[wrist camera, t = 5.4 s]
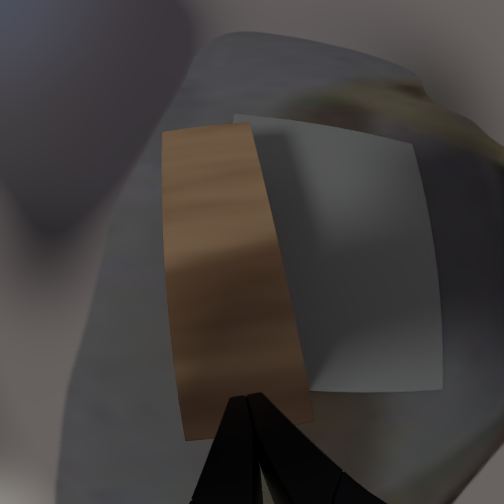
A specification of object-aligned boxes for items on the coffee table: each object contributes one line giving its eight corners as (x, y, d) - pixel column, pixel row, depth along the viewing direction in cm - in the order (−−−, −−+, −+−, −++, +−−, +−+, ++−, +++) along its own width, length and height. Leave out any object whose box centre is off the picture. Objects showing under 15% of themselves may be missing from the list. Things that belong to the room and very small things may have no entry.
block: (315, 420, 10) (249, 121, 16) (185, 441, 9) (162, 132, 15) (294, 414, 14) (247, 175, 20) (200, 428, 13) (174, 184, 19)
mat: (438, 389, 15) (442, 389, 14) (184, 376, 15) (183, 375, 15) (410, 147, 22) (412, 144, 22) (234, 117, 23) (234, 113, 22)
